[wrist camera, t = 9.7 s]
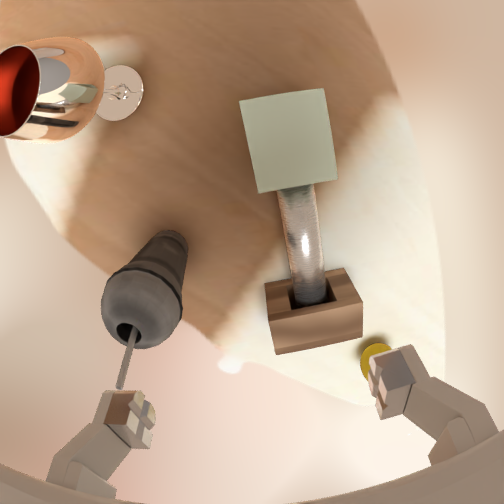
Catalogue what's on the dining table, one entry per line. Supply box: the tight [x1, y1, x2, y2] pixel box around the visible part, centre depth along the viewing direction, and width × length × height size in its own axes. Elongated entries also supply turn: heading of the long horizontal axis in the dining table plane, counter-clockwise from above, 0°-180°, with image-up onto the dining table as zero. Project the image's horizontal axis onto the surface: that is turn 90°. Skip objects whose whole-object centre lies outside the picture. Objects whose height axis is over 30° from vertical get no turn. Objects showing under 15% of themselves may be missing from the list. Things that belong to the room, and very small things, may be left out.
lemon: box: [360, 343, 392, 381], centre depth 40 cm, size 6×6×8 cm
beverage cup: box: [101, 230, 188, 390], centre depth 27 cm, size 7×7×20 cm
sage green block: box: [239, 88, 338, 194], centre depth 27 cm, size 8×7×7 cm
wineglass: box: [0, 37, 144, 144], centre depth 19 cm, size 8×8×18 cm
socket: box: [265, 268, 363, 355], centre depth 35 cm, size 5×10×8 cm, turn 102°
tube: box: [276, 184, 327, 309], centre depth 32 cm, size 16×4×4 cm, turn 12°
